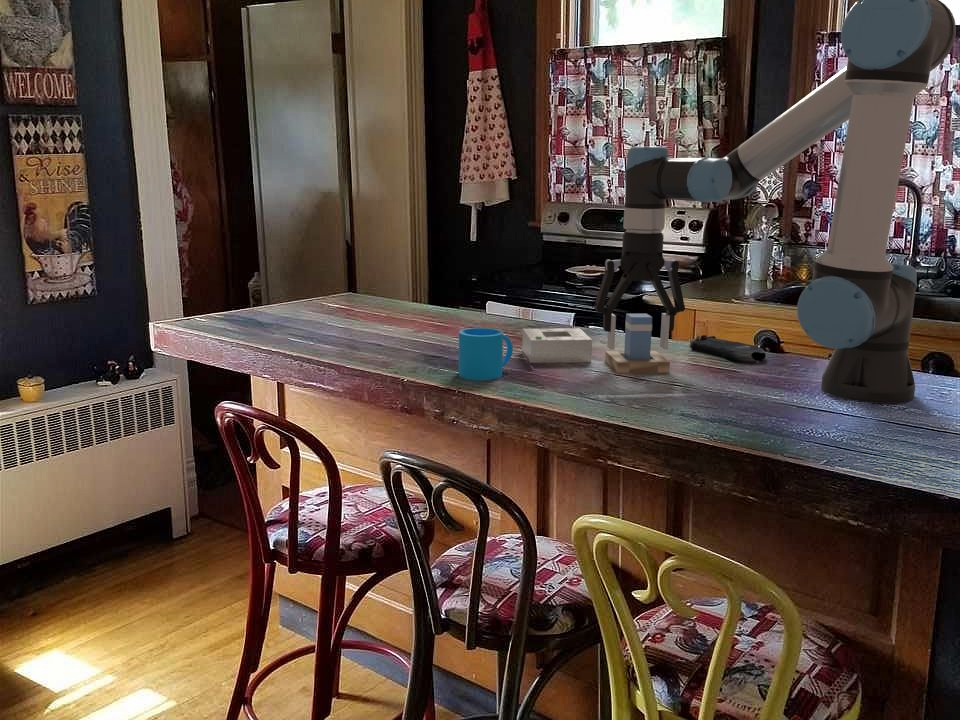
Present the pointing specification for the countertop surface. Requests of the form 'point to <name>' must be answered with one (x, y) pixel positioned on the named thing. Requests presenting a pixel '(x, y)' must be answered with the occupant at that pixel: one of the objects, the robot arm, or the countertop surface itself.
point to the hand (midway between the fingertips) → (637, 347)
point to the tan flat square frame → (637, 363)
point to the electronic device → (728, 349)
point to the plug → (637, 336)
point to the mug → (482, 353)
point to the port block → (556, 345)
